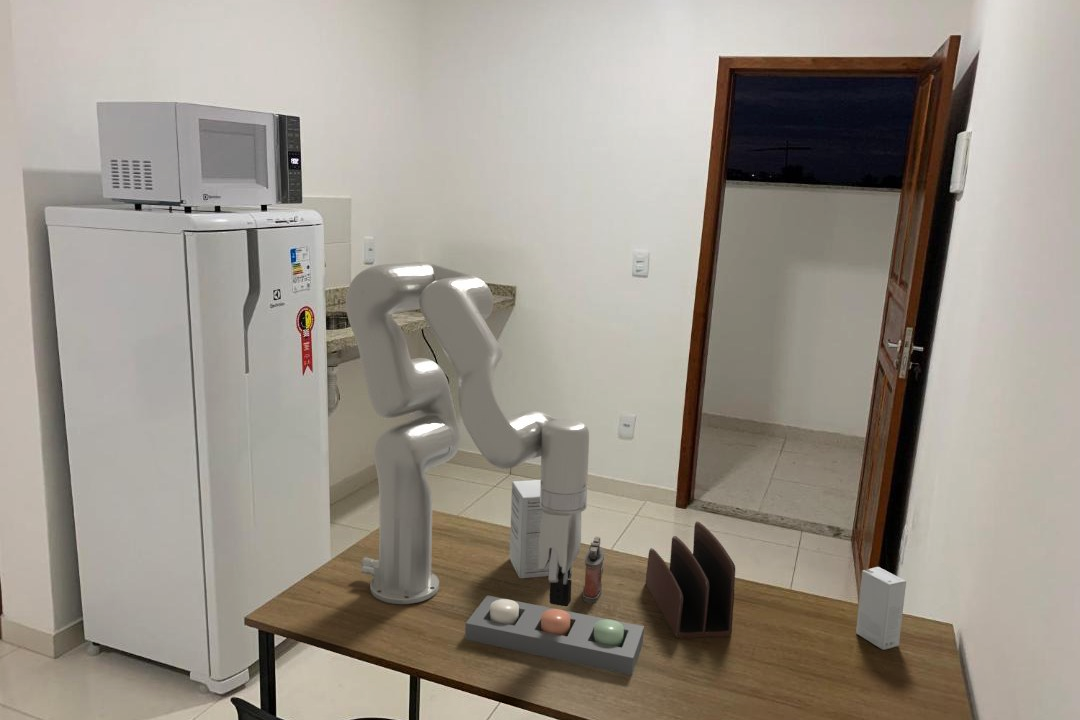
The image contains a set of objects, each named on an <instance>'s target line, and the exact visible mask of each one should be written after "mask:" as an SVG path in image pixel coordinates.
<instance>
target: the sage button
mask: <svg viewBox="0 0 1080 720" xmlns="http://www.w3.org/2000/svg"><path fill="white" fill-rule="evenodd" d="M617 621H618V620H614V619H610V618H604V620H599V621H597V622H596V623H595V625H594V639H593V642H596V643H601V644H606V645H611V646H616V647H621V648H622V647H623V634H624V627H623V625H622V624H621V623H619V622H617Z"/></svg>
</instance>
